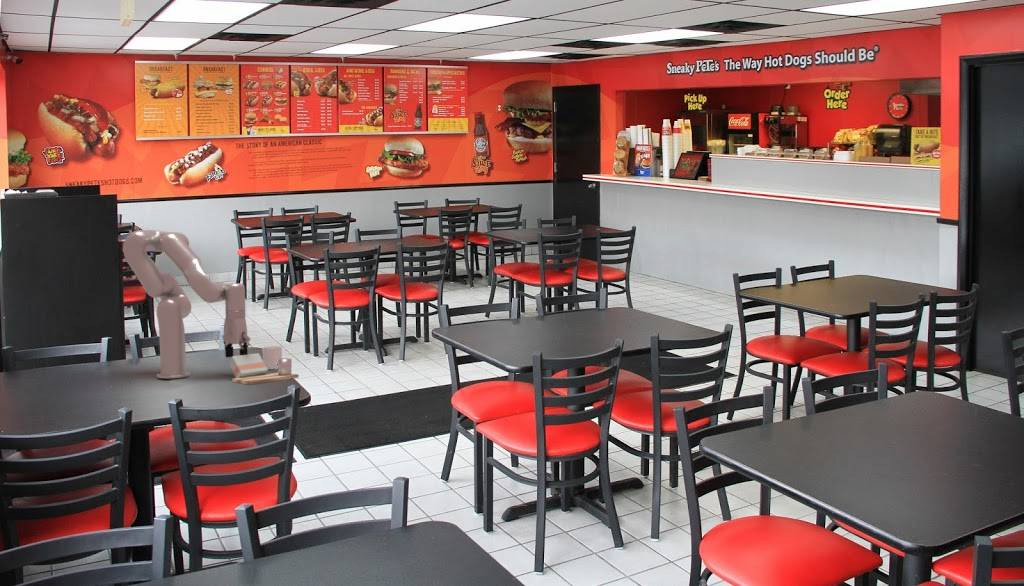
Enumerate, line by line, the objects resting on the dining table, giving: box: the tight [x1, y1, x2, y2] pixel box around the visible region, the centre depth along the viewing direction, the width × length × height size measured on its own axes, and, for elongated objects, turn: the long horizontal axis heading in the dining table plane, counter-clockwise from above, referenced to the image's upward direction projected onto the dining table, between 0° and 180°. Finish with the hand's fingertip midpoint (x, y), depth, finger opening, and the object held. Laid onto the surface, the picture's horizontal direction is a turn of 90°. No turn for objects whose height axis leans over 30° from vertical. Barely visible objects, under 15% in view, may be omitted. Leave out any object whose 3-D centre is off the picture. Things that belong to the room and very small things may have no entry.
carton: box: [228, 352, 268, 378], centre depth 381 cm, size 8×12×4 cm
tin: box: [277, 357, 293, 376], centre depth 381 cm, size 5×5×6 cm
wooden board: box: [231, 371, 299, 386], centre depth 377 cm, size 12×22×1 cm, turn 139°
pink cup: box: [261, 345, 283, 370], centre depth 401 cm, size 8×8×10 cm
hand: (236, 357), depth 386 cm, fingers open, 9 cm apart
